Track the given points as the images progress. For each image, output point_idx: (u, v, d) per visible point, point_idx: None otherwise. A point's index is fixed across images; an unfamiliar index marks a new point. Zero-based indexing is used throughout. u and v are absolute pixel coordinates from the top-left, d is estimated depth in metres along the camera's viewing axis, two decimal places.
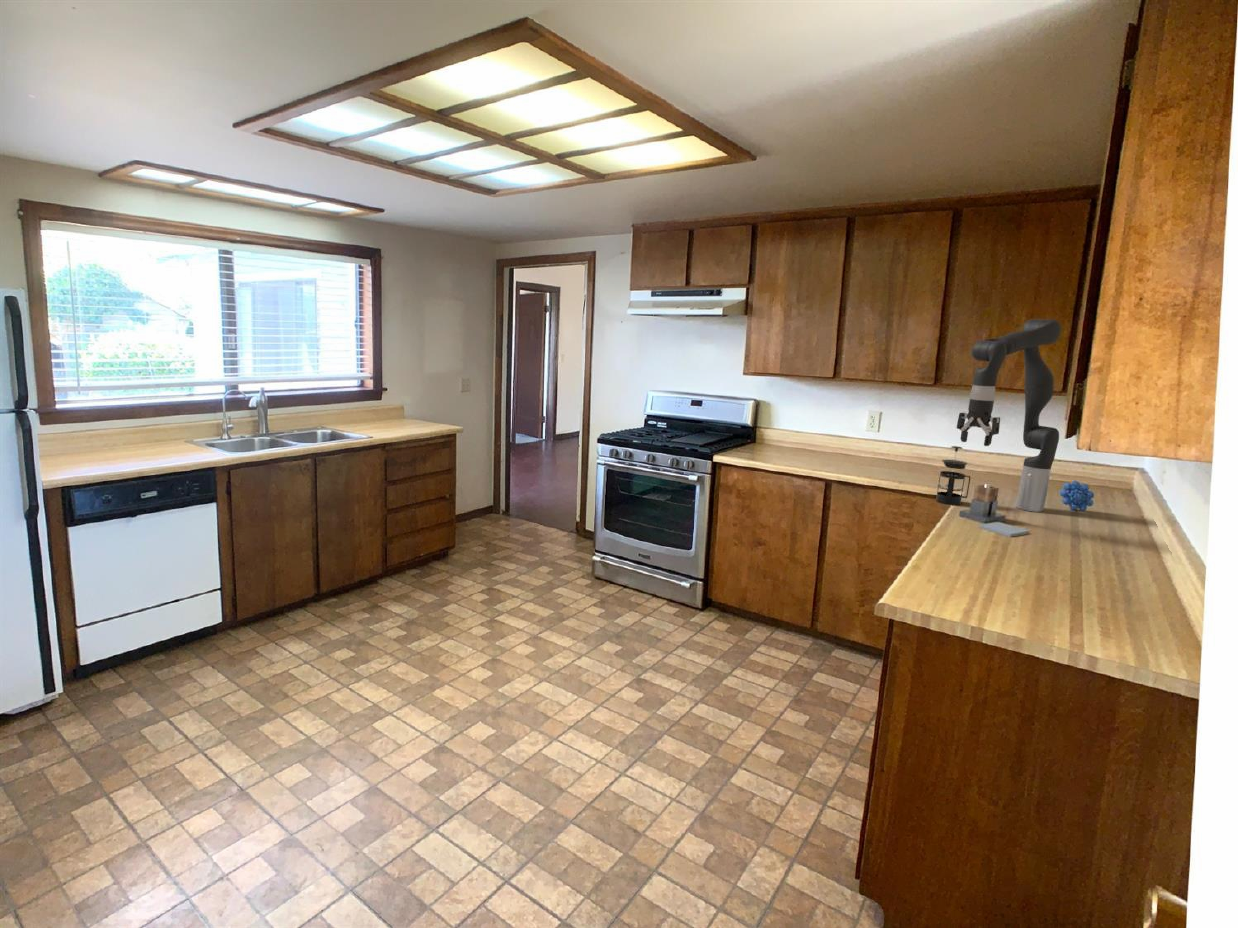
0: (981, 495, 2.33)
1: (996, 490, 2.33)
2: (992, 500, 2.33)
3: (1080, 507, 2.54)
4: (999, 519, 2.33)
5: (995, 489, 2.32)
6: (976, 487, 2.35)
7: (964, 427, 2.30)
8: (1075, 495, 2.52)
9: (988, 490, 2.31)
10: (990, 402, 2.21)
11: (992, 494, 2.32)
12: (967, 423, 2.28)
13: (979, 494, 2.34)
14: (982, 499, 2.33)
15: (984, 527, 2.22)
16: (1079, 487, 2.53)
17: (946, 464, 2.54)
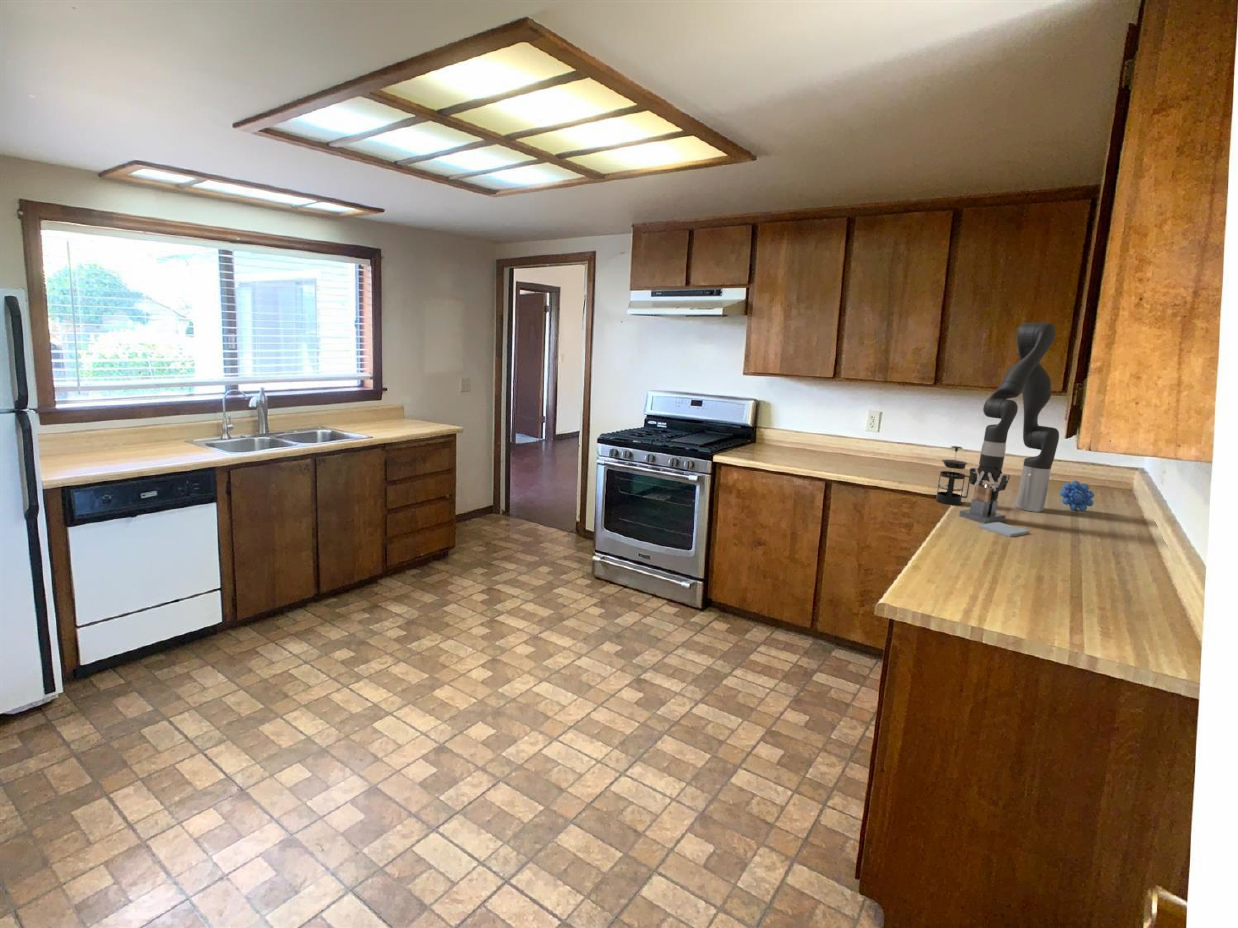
0: (981, 495, 2.33)
1: None
2: None
3: (1080, 507, 2.54)
4: (999, 519, 2.33)
5: None
6: (976, 487, 2.35)
7: (977, 482, 2.36)
8: (1075, 495, 2.52)
9: (988, 490, 2.31)
10: (1001, 458, 2.28)
11: None
12: (979, 478, 2.35)
13: (979, 494, 2.34)
14: (982, 499, 2.33)
15: (984, 527, 2.22)
16: (1079, 487, 2.53)
17: (946, 464, 2.54)
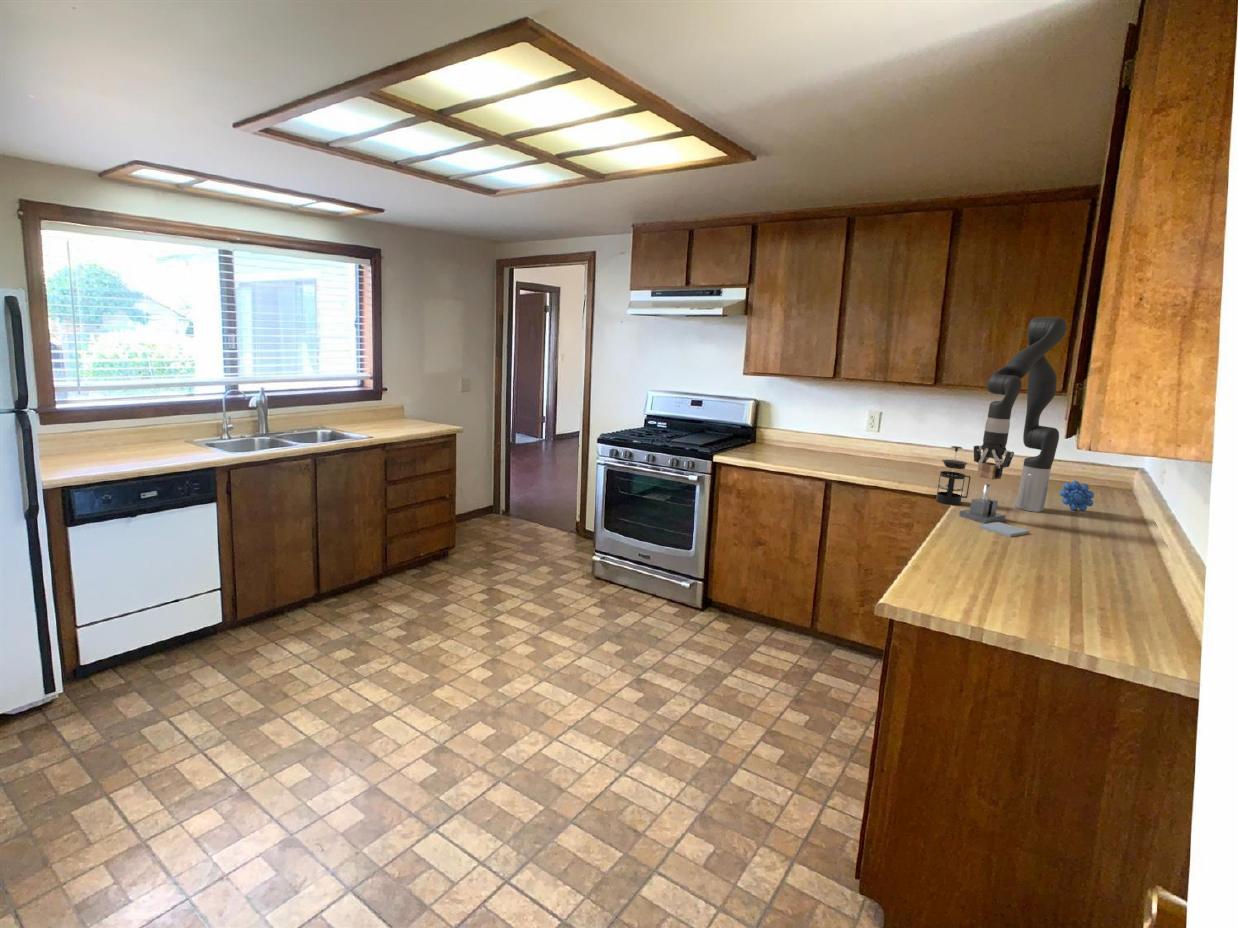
0: (985, 472, 2.32)
1: None
2: None
3: (1080, 507, 2.54)
4: (999, 519, 2.33)
5: None
6: (980, 464, 2.33)
7: (981, 460, 2.34)
8: (1075, 495, 2.52)
9: (992, 467, 2.29)
10: (1005, 434, 2.27)
11: None
12: (983, 455, 2.33)
13: (983, 471, 2.32)
14: (986, 476, 2.31)
15: (984, 527, 2.22)
16: (1079, 487, 2.53)
17: (946, 464, 2.54)
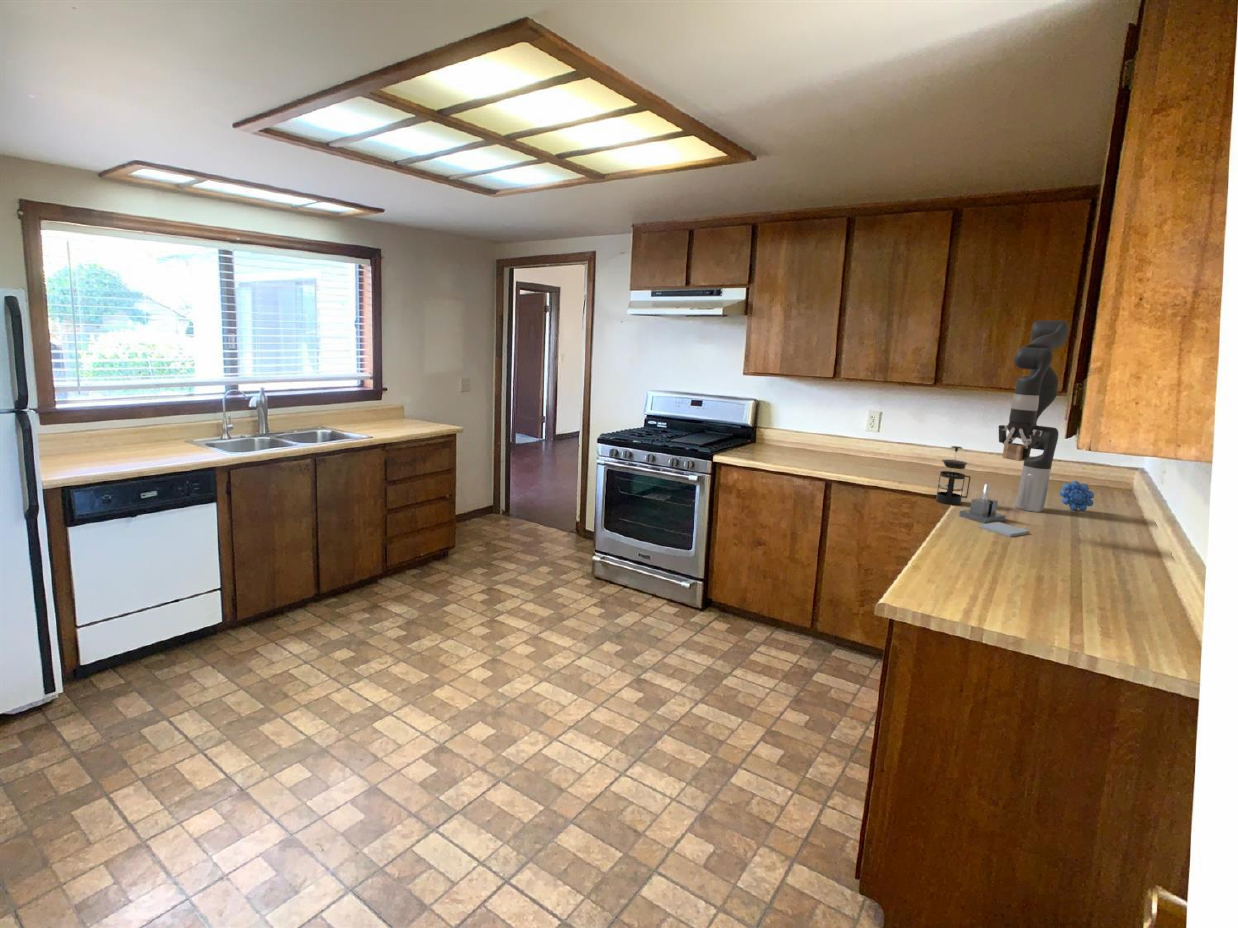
0: (1011, 453, 2.15)
1: None
2: None
3: (1080, 507, 2.54)
4: (999, 519, 2.33)
5: None
6: (1006, 445, 2.17)
7: (1007, 440, 2.18)
8: (1075, 495, 2.52)
9: (1019, 447, 2.13)
10: (1033, 412, 2.10)
11: None
12: (1009, 435, 2.16)
13: (1009, 452, 2.16)
14: (1012, 458, 2.15)
15: (984, 527, 2.22)
16: (1079, 487, 2.53)
17: (946, 464, 2.54)
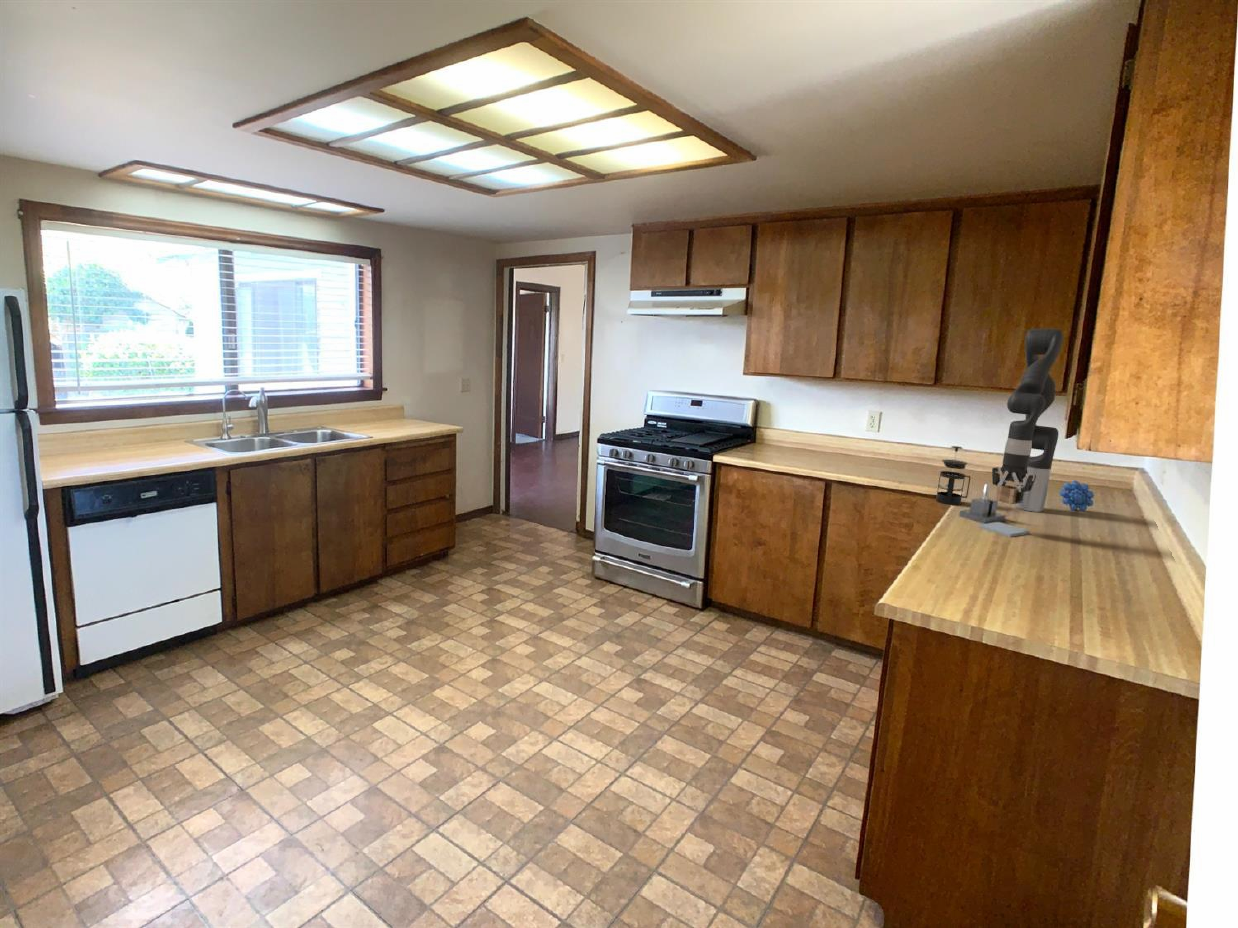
0: (1005, 496, 2.18)
1: None
2: None
3: (1080, 507, 2.54)
4: (999, 519, 2.33)
5: None
6: (999, 488, 2.19)
7: (1000, 483, 2.20)
8: (1075, 495, 2.52)
9: (1012, 491, 2.15)
10: (1026, 457, 2.13)
11: None
12: (1002, 478, 2.19)
13: (1003, 495, 2.18)
14: (1006, 501, 2.17)
15: (984, 527, 2.22)
16: (1079, 487, 2.53)
17: (946, 464, 2.54)
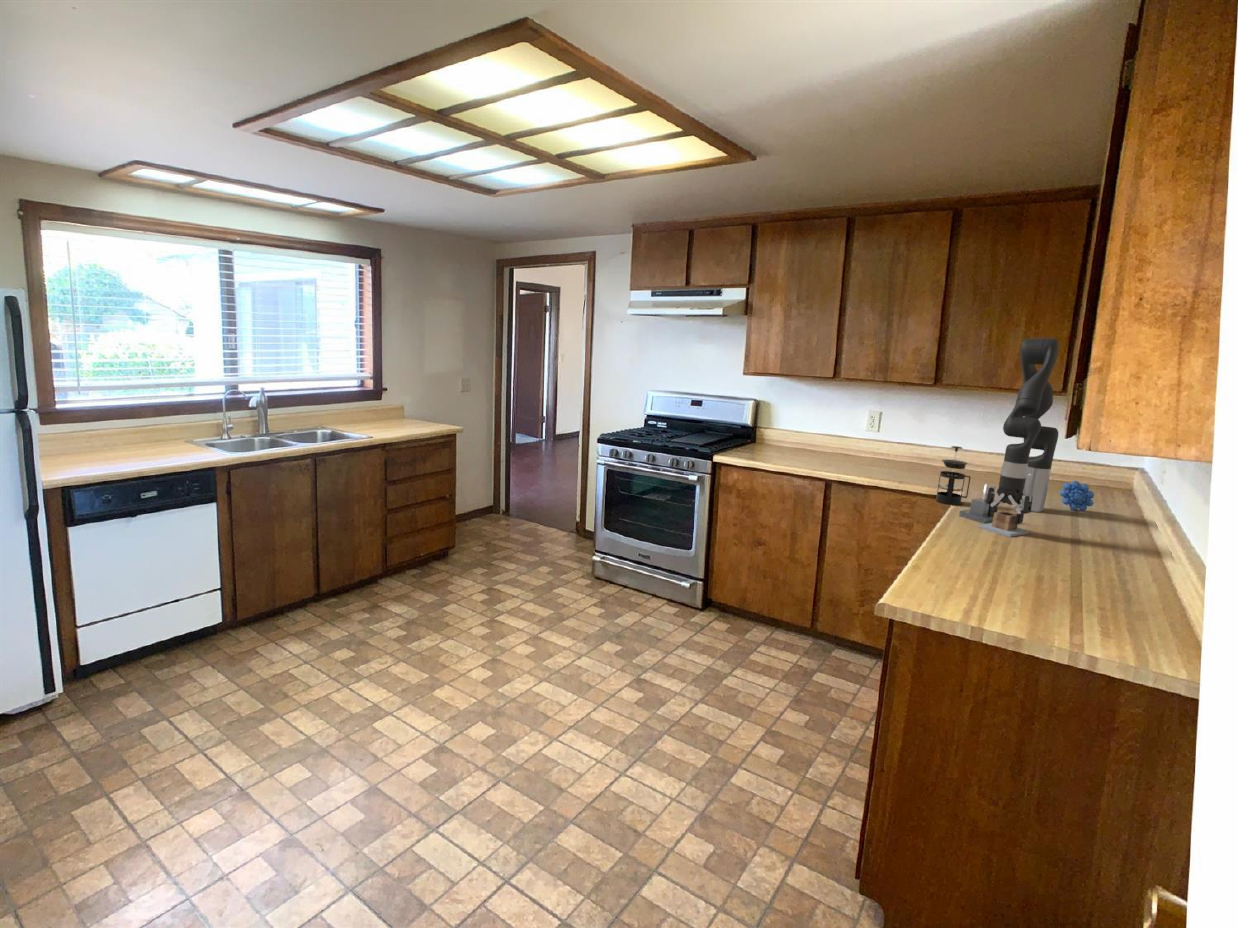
0: (1000, 523, 2.20)
1: None
2: (1012, 528, 2.19)
3: (1080, 507, 2.54)
4: None
5: (1015, 517, 2.18)
6: (995, 514, 2.21)
7: (994, 503, 2.23)
8: (1075, 495, 2.52)
9: (1008, 518, 2.17)
10: (1022, 480, 2.14)
11: (1012, 522, 2.18)
12: (997, 499, 2.21)
13: (998, 521, 2.20)
14: (1001, 527, 2.19)
15: (984, 527, 2.22)
16: (1079, 487, 2.53)
17: (946, 464, 2.54)
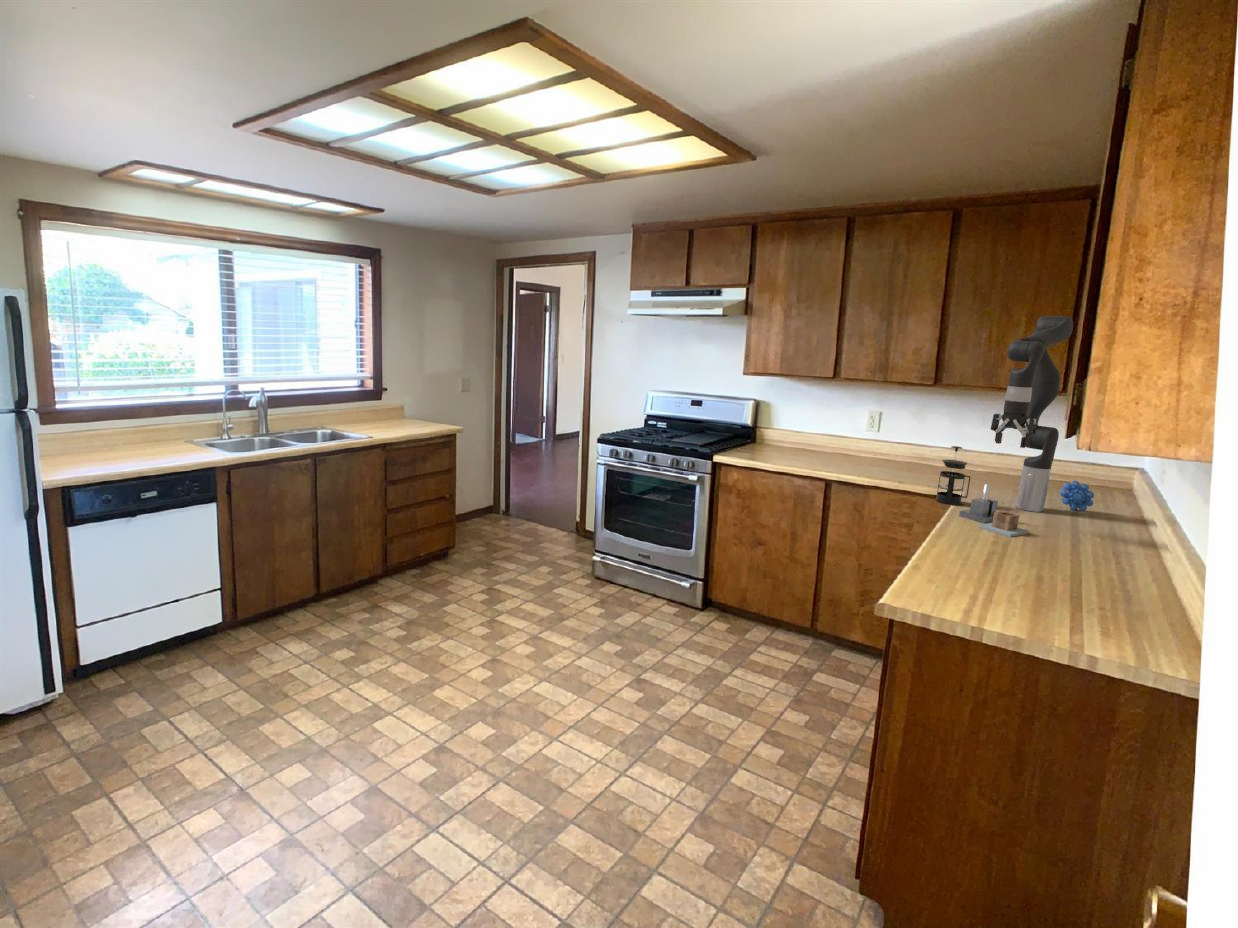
0: (1000, 523, 2.20)
1: (1016, 518, 2.19)
2: (1012, 528, 2.19)
3: (1080, 507, 2.54)
4: None
5: (1015, 517, 2.18)
6: (995, 514, 2.21)
7: (999, 428, 2.26)
8: (1075, 495, 2.52)
9: (1008, 518, 2.17)
10: (1027, 403, 2.18)
11: (1012, 522, 2.18)
12: (1002, 424, 2.25)
13: (998, 521, 2.20)
14: (1001, 527, 2.19)
15: (984, 527, 2.22)
16: (1079, 487, 2.53)
17: (946, 464, 2.54)
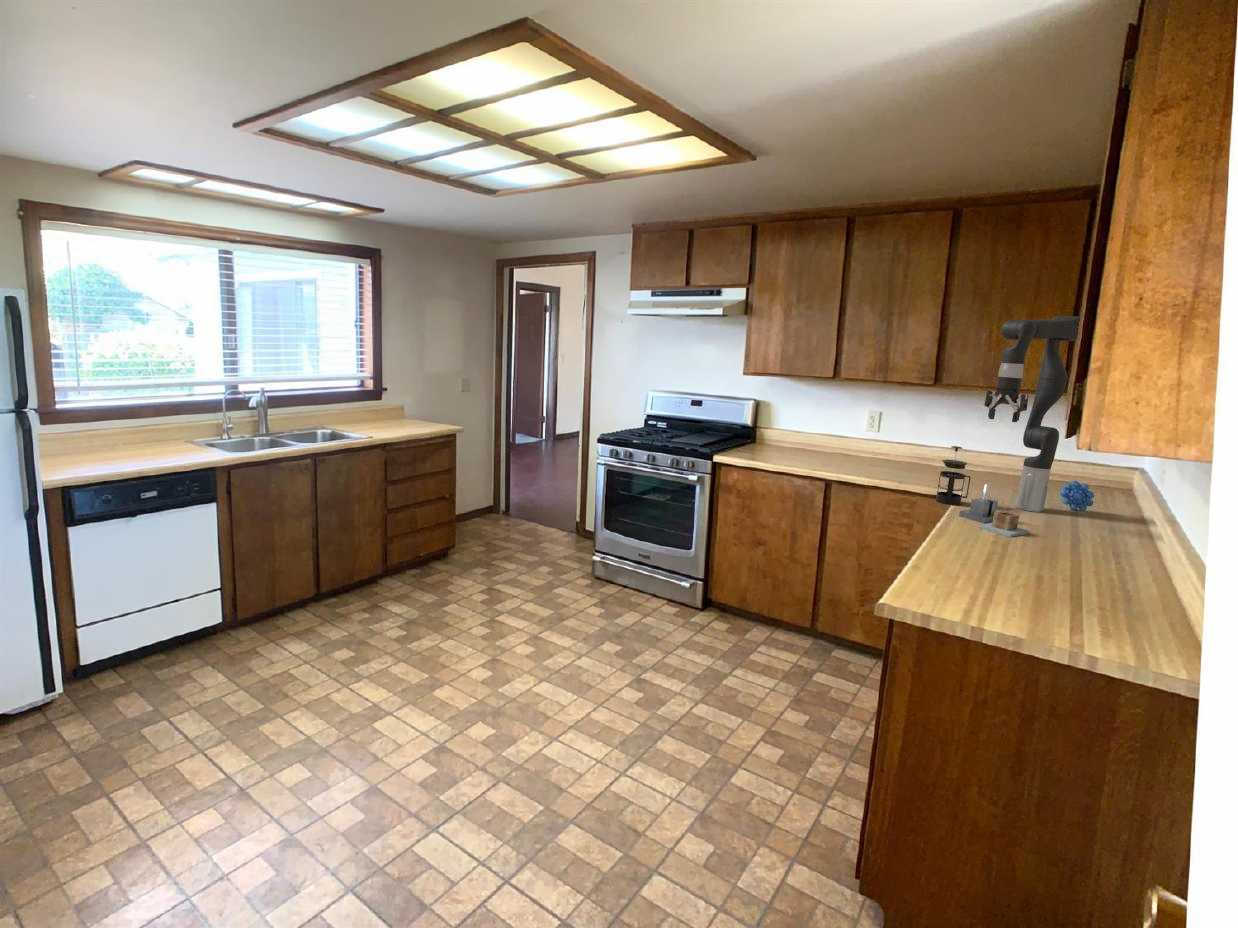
0: (1000, 523, 2.20)
1: (1016, 518, 2.19)
2: (1012, 528, 2.19)
3: (1080, 507, 2.54)
4: None
5: (1015, 517, 2.18)
6: (995, 514, 2.21)
7: (992, 404, 2.36)
8: (1075, 495, 2.52)
9: (1008, 518, 2.17)
10: (1019, 379, 2.27)
11: (1012, 522, 2.18)
12: (995, 400, 2.34)
13: (998, 521, 2.20)
14: (1001, 527, 2.19)
15: (984, 527, 2.22)
16: (1079, 487, 2.53)
17: (946, 464, 2.54)
